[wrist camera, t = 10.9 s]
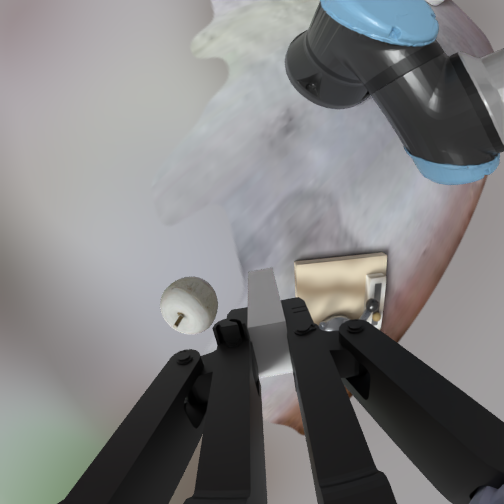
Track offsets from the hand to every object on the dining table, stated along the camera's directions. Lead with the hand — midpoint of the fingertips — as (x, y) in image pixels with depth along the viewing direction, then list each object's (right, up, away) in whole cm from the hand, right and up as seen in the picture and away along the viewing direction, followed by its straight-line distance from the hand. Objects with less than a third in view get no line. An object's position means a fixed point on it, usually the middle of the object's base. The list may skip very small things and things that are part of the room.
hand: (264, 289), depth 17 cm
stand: (+15, -9, +30) cm, 35 cm away
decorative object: (-10, -5, +29) cm, 31 cm away
